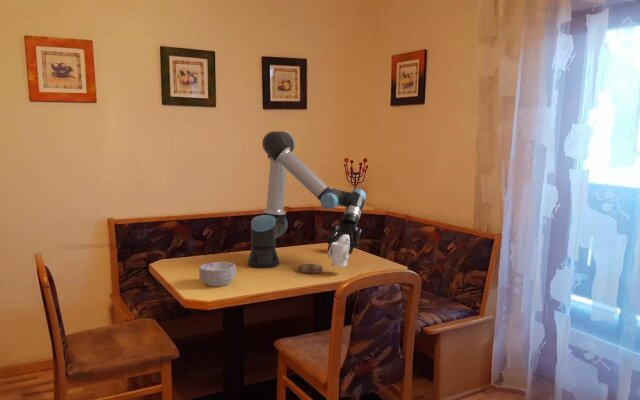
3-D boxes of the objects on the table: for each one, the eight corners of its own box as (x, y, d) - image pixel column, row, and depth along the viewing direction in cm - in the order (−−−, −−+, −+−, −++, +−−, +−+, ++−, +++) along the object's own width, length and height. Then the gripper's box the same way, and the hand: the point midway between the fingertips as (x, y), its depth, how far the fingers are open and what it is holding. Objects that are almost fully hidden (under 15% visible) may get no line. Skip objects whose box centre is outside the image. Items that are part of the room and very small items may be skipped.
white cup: (328, 263, 238) (329, 242, 236) (343, 262, 241) (344, 241, 240) (335, 267, 231) (336, 246, 229) (351, 266, 234) (352, 245, 232)
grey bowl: (206, 278, 227) (205, 260, 226) (239, 279, 226) (239, 261, 225) (194, 288, 212) (193, 269, 211) (230, 289, 211) (230, 270, 210)
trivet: (301, 274, 235) (301, 269, 234) (296, 268, 245) (296, 263, 245) (324, 273, 237) (324, 268, 237) (319, 267, 248) (319, 262, 248)
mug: (345, 257, 270) (346, 236, 268) (330, 252, 279) (330, 233, 277) (357, 254, 275) (357, 234, 274) (341, 250, 284) (342, 231, 283)
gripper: (373, 224, 243) (360, 265, 231) (333, 220, 251) (318, 259, 239) (370, 214, 238) (357, 256, 225) (329, 210, 246) (314, 250, 233)
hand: (337, 257), depth 232 cm, fingers closed on white cup, 8 cm apart
